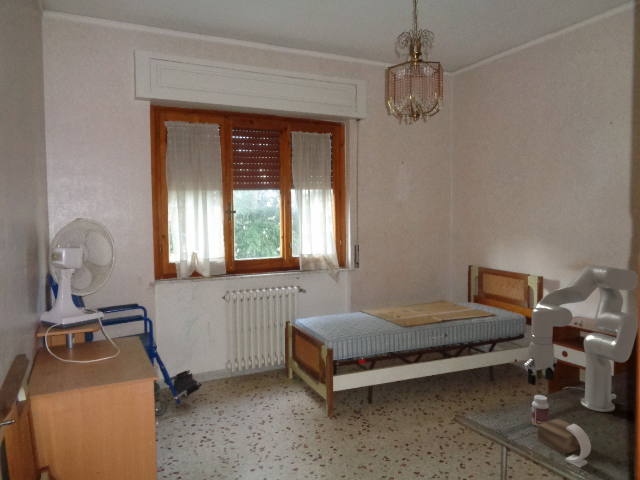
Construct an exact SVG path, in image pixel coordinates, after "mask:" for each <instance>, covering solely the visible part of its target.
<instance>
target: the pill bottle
mask: <svg viewBox="0 0 640 480" xmlns="http://www.w3.org/2000/svg"><path fill="white" fill-rule="evenodd" d="M549 421H550V405H549V403H548V397H546V396H545V395H543V394H536V395H534V396H533V401H532V402H531V423H532V424H533V425H534V426H536V427H538V425H540V424H543V423H546V422H549Z"/></svg>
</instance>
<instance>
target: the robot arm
mask: <svg viewBox="0 0 640 480" xmlns="http://www.w3.org/2000/svg"><path fill="white" fill-rule="evenodd" d="M638 278H639V275H638V274H637V272H636V271H634V270H632V269H626V268H616V267H613V266H612V267H611V266H604V265H596V264H592V265H587V266H584V268H583V269H582V270H581V271H580V272H579V273H578V274H577V275H576V276H575V277H574V279H572V280H571V282H570V283H569V284H567V285H566V286H563V287H560V288H557V289H555V290H553V291H551V292H549V293H547V294H546V295H544V296H543V297H542V298H541V299H540V300H539V301H538V302H537V304H536V306H535V307H534V308H533V309H532V310H531V331H530V332H531V333H530V334H531V336H530V342H529V345H528V350H527V357H526V358H527V359H526V362H525V363H524V364H523V366H524V370H525V372H526V374H527V383H528V384H529V385H532V386H536V383H537V376H536V373H537V371H540V370H545V374H544V379H545V380H548V381H550V382H553V381H554V371H555V369H556V365H557V363H558V358H557V357H555V353H554V351H555V350H554V345H553V333H554V331H553V329H554V327H566V326H569V325H570V324H571V323H572V321H573V319H574V318H573V317H574V316H573V313H572V311H571V310H570V309H568V308H565V307H562V306H563V305H566V304H575V303H582V302H584V301H586V300H587V299H588V298H589V297H590V296H591V295H592V294H593V293H594V291H595V290H596V289H597V288H598V291H599V297H600V298H599V301H598V306H597V309H596V312H595V316H594V321H593V323H594V327H595V328H597V330H600V331H603V332H606V333H609V334H610V333H611V334H614V335H616V337H615V336H612V335H608V334H604V333H600V332H599V333H598V332H590V333H588V334H586V336H585V337H584V339H583V348H584V352H585V353H584V354H585V355H584V356H585V379H584V380H585V384H584V386H585V387H584V388H585V389H584V397H582V398H581V399H580V404H581V405H582V406H583V407H584V408H587V409H588V410H591V411H596V412H601V413H602V412H603V413H605V412H606V413H608V412H609V413H610V412H613V411H615V409H616V405H615V404H614V403H613V402H612V401H613V400H614V399H616V398H617V395H616V394H615V393H612V371H613V368H612V363H611V361H613V362H617V363H625V362H627V361H628V360H629V359H630V356H631V355H632V351H633V348H634V343H635V340H636V336H637V333H638V327H639V325H638V320H637V318H636V317H635V316H634V315H633V314H631V313H628V312H622V308H623V304H624V298H623V295H622V293H621V291H628V292H629V291H633V290H635V289H636V288H637V287H638V285H639V283H638Z"/></svg>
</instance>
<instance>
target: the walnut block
mask: <svg viewBox="0 0 640 480" xmlns="http://www.w3.org/2000/svg"><path fill="white" fill-rule="evenodd" d="M570 425H572V424H571V423H569V422H567V421H565V420H564V419H560V418H556V419H552V420H549V422H546V423H543V424H540V425H538V426H537V441H538V442H540V443H541V444H544V445H545V446H547V447H550V448H551V449H553V450H554V451H556V452H557V453H558V452H559V453H560V454H562V455H567V454H569V453H573V452H575V451H578V450H581V447H580V444H579V442H578V440H577V438H576V437H575V436H574V435H573V434H572V433H571V432H570V431H568V430H566V427H568V426H570ZM583 431H584V432H585V433H586V430H585V429H583ZM586 434H587V433H586Z"/></svg>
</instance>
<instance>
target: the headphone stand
mask: <svg viewBox="0 0 640 480" xmlns="http://www.w3.org/2000/svg"><path fill="white" fill-rule="evenodd" d="M566 430H568V431H570V432H571V433H572V434H573V435H574V436H575V437H576V438H577V440H578V442H579V444H580V447H581V449H580V454H579V455H576V454H571V455H569V456H568V457H566V458H565V459H564V461H565V462H567V463H569V464H571V465H573V466H575V467H577V468H582V467H583V466H585V465H588V460H586V459H585V458H587V457H588V456H589V455H590V453H591V451H592V444H591V441H590V437H589V436H588V434H587V433H585V432H584V431H585V430H584V429H583V428H581V427H580V426H579V425H577V424H575V423H572V424H571V425H570V426H568V427H566ZM583 430H584V431H583Z"/></svg>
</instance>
